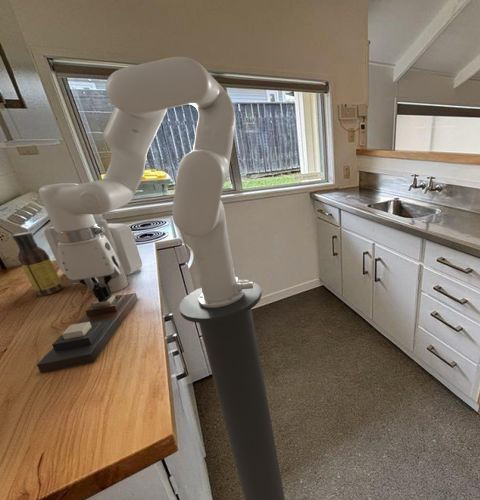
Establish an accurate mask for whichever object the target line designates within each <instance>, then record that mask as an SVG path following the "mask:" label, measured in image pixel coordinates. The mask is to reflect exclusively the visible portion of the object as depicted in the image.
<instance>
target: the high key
mask: <svg viewBox="0 0 480 500" xmlns="http://www.w3.org/2000/svg"><path fill="white" fill-rule="evenodd" d="M91 328H92V326H91V324H90V322H85V323H79V324H76V323H74V324H70V325H69V326H68V327H67V328H66V329H65V330H64V331H63V332H62V333H61V335H63V338H64V340H65V339H70V338H76V337H81V336H85V335H86V334H87V333H88V331H89V330H90V329H91Z"/></svg>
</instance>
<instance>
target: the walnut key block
mask: <svg viewBox="0 0 480 500" xmlns="http://www.w3.org/2000/svg"><path fill="white" fill-rule="evenodd" d="M115 297H116V300H115V301H114V302H113V303H112V304H111V305H105V306H99V307H94V305H93V303H94V302H95V301H96V300H97V298H95V300H94V301H93V302H92V303H91V304H90V305H89V306H88V307H87V308H86V309H85V310H84V314H83V315H82V316H81V317H80V319H78V321H77V322H76V323H75V324H79V323H85V322H90V323H93V322H99V321H105V320H110V319H116V318H117V321H118V323H119V326H120V325H121V324H122V322H123V321H124V320H125V319H126V316H127V315H128V314H129V312H130V311H131V309H132V308H133V306H134V305H135V304H136V302H137V301H138V297H137V293H136V292H134V293H133V292H132V293H127V294H118V295H115Z"/></svg>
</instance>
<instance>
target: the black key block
mask: <svg viewBox="0 0 480 500" xmlns="http://www.w3.org/2000/svg"><path fill="white" fill-rule="evenodd" d="M90 324H91V326H92V328H91V329H90V330H89V331H88V333H87V334H86V335H85V336H81V337H76V338H70V339H65V340H64V338H63V335H62V334H60V336H59V337H58V338H57V339H56V340H55V341H54V342H53V343H52V344H51V346H52V348H51V349H50V350H49V351H48V352H47V353H46V354H45V355H44V356H43V357H42V358H41V359H40V360H39V362H38V363H36V368H38V369H37V370H38V371H39V373H40V374H43V373H49V372H53V371H58V370H62V369H66V368H72V367H76V366H81V365H86V364H90V363H94V362H95V360H96V359H97V358H98V357H99V355H100V354H101V352H102V350H103V349H104V348H105V347H106V345H107V343H108V342H109V341H110V340H111V338H112V336H113V335H114V334H115V332H116V331H117V330H118V328H119V327H120V325H119V323H118V321H117V318H116V319H110V320H105V321H99V322H93V323H90Z"/></svg>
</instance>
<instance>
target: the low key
mask: <svg viewBox="0 0 480 500" xmlns="http://www.w3.org/2000/svg"><path fill="white" fill-rule="evenodd" d="M115 296H116V295H115V294H111V296H110V298H109V299H108V300H107V301H102V302H99V301H98V299H97V298H96V299H97V300H96V299H95V300H96V301H95V300H94V301H95V302H94V301H93V302H94V303H93V302H92V303H93V305H94V307H99V306H105V305H111V304H112V303H113V302H114V301H115V300H116V297H115Z"/></svg>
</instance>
